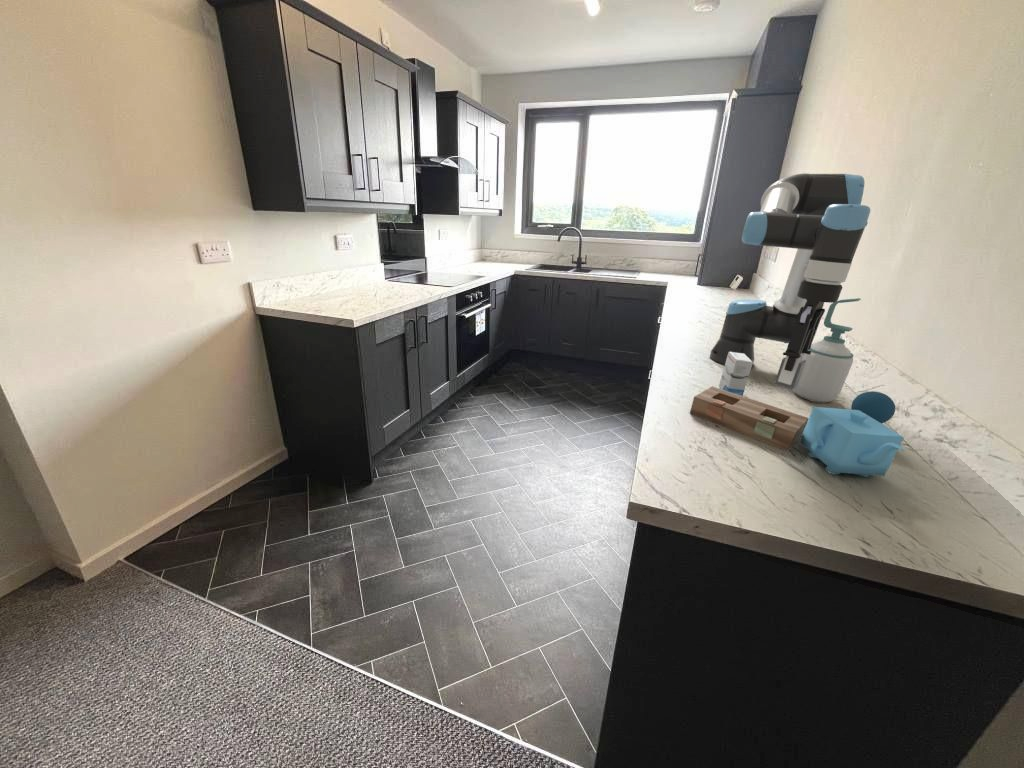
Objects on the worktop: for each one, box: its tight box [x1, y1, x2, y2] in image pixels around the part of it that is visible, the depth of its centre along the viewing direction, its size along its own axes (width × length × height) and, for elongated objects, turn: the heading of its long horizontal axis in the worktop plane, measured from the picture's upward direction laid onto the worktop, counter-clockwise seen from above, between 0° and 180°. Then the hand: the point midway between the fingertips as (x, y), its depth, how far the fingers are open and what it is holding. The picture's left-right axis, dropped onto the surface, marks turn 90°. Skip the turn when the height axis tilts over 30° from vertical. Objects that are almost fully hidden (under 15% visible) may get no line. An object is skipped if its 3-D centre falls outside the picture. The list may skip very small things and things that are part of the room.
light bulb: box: [850, 390, 896, 424], centre depth 105 cm, size 8×8×12 cm
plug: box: [773, 353, 806, 390], centre depth 97 cm, size 4×4×8 cm
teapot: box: [799, 406, 905, 478], centre depth 88 cm, size 18×16×13 cm
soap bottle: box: [792, 297, 861, 403], centre depth 123 cm, size 12×12×31 cm
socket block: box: [689, 386, 809, 452], centre depth 107 cm, size 12×24×5 cm, turn 43°
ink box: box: [718, 352, 754, 396], centre depth 126 cm, size 8×5×12 cm, turn 168°
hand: (787, 380), depth 99 cm, fingers closed on plug, 4 cm apart
